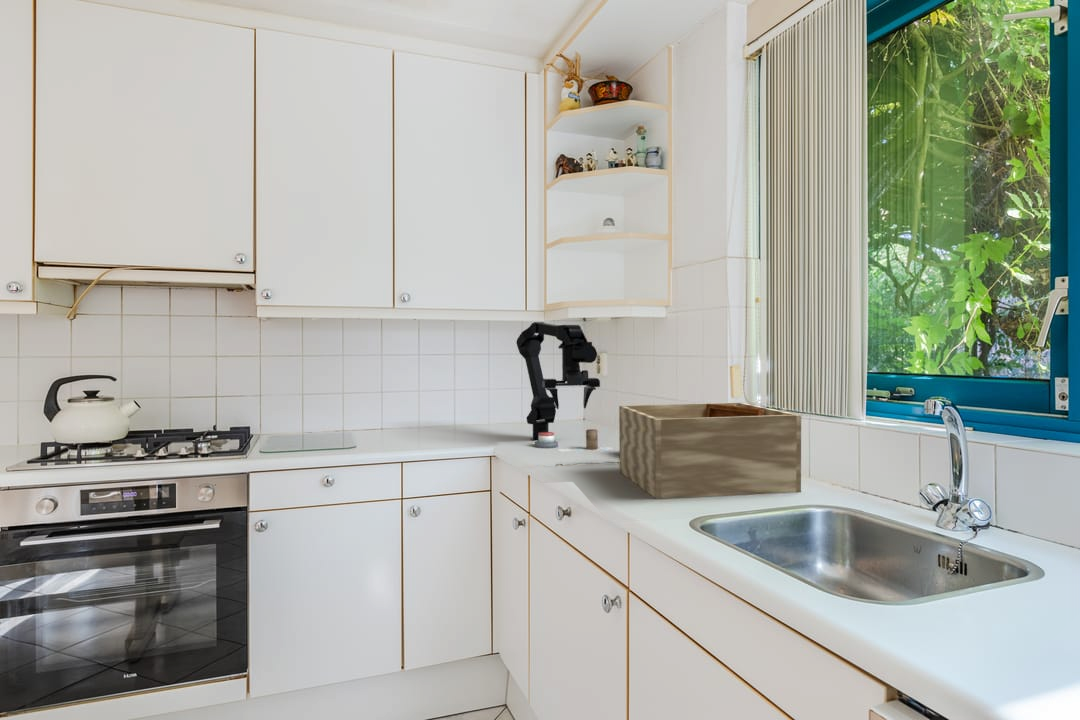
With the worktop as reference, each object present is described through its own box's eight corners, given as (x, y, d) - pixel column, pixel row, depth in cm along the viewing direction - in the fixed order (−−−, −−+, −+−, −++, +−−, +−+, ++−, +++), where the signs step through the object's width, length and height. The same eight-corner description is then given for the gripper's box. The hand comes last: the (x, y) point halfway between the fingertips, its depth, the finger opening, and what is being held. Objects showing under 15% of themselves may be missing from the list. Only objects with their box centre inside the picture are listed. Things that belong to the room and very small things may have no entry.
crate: (619, 471, 166) (619, 405, 166) (741, 466, 172) (741, 402, 171) (656, 499, 137) (655, 419, 137) (800, 491, 143) (801, 415, 142)
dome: (537, 441, 202) (537, 432, 202) (552, 440, 203) (552, 431, 203) (539, 443, 197) (539, 434, 197) (555, 443, 198) (555, 434, 198)
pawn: (585, 447, 196) (585, 429, 195) (596, 447, 196) (596, 429, 196) (587, 450, 192) (587, 431, 192) (598, 449, 192) (598, 430, 192)
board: (532, 448, 203) (532, 440, 203) (602, 445, 207) (602, 438, 207) (539, 456, 189) (539, 448, 188) (614, 453, 192) (614, 445, 192)
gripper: (547, 363, 194) (547, 412, 195) (604, 362, 197) (604, 410, 197) (541, 362, 205) (542, 408, 206) (595, 361, 208) (596, 407, 208)
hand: (571, 408), depth 204 cm, fingers open, 9 cm apart
